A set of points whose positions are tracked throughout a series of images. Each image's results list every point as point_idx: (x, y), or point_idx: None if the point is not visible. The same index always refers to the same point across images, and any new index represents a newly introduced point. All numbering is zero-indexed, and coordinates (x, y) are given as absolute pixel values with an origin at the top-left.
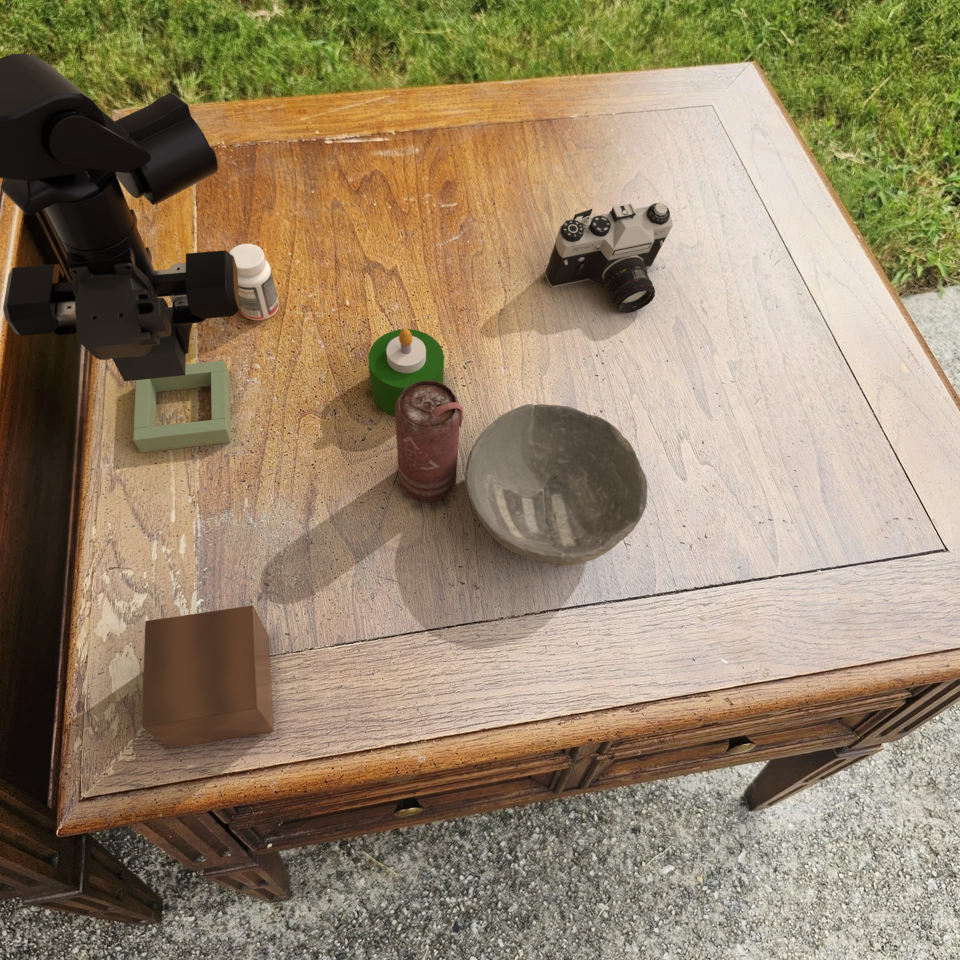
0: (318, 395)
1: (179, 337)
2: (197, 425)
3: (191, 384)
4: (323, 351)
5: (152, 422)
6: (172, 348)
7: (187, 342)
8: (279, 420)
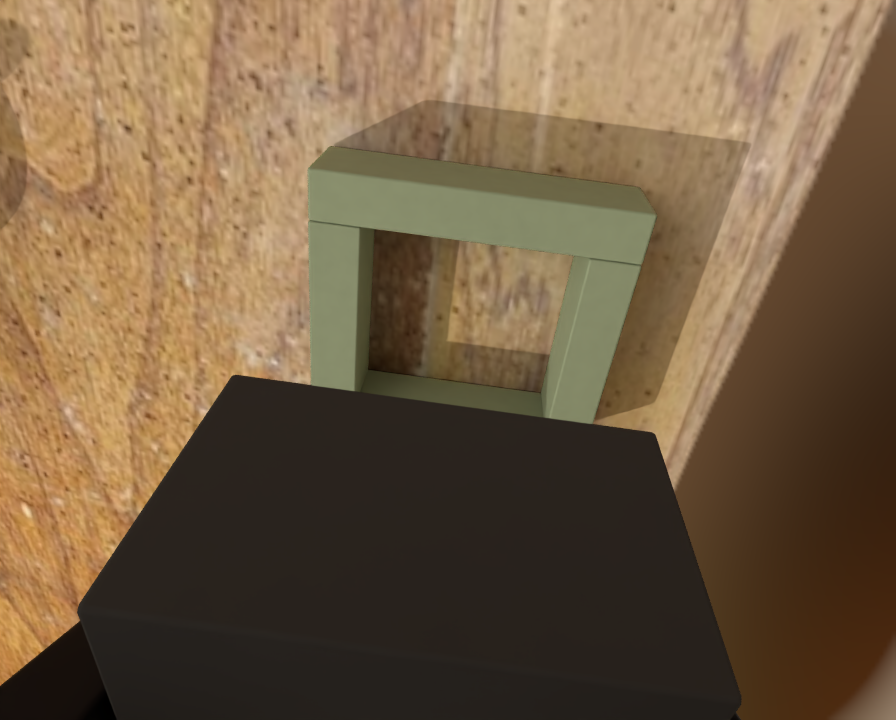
0: (51, 256)
1: (82, 704)
2: (413, 216)
3: (433, 389)
4: (64, 397)
5: (572, 286)
6: (111, 643)
7: None
8: (167, 193)
